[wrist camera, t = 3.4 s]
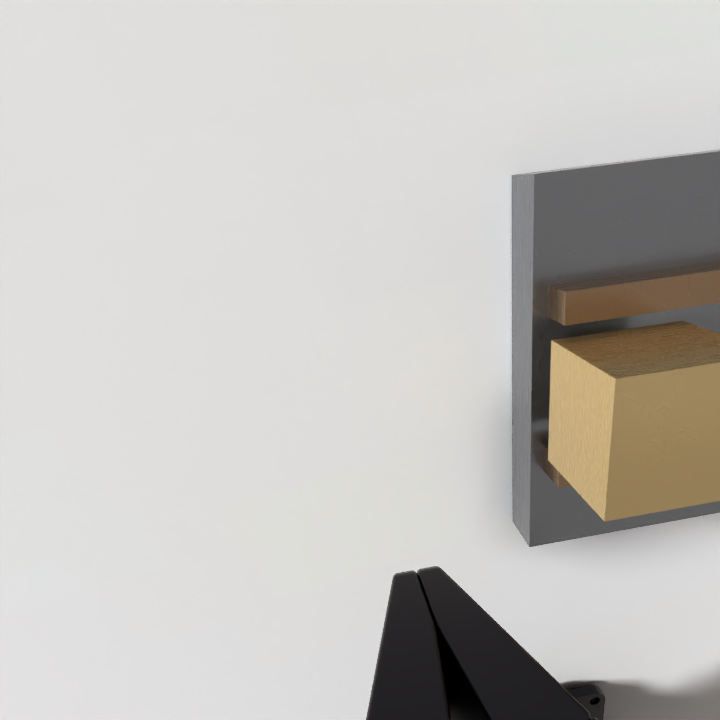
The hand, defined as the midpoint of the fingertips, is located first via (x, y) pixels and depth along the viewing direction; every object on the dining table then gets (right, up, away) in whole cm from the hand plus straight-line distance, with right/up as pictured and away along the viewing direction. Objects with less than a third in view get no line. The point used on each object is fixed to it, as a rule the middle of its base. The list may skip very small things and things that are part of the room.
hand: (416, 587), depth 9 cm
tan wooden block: (+7, +3, +7) cm, 10 cm away
